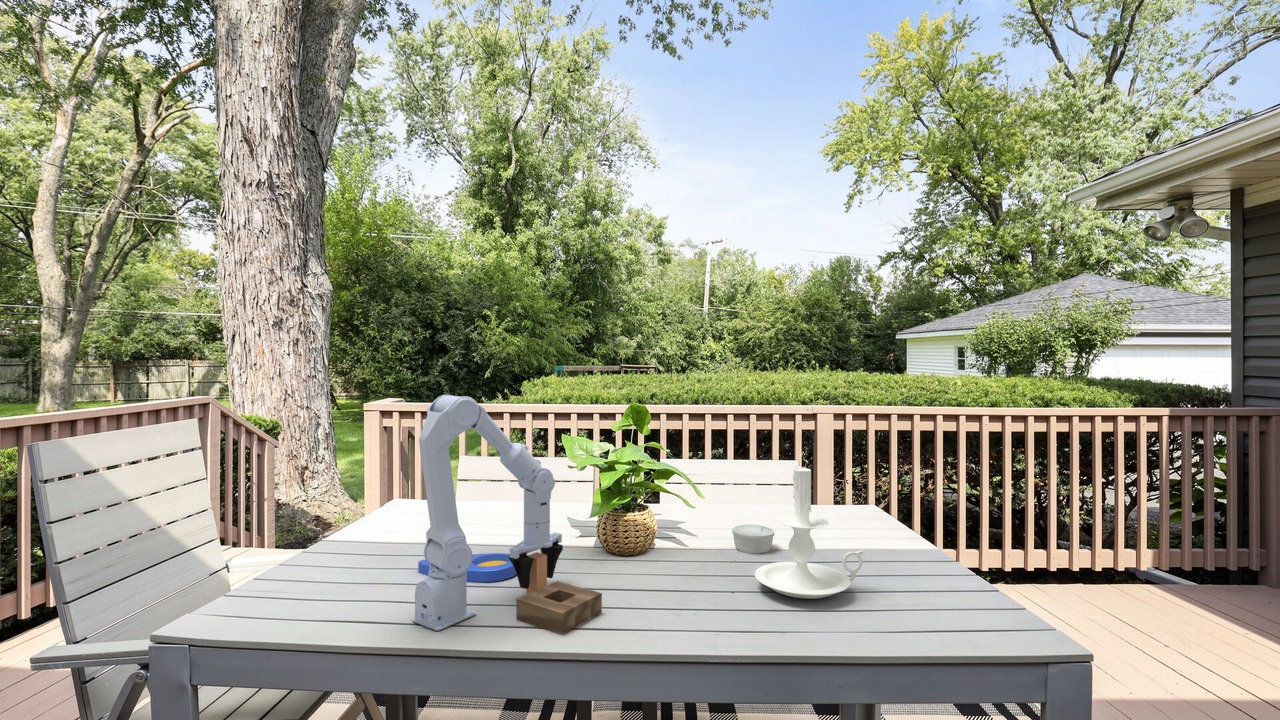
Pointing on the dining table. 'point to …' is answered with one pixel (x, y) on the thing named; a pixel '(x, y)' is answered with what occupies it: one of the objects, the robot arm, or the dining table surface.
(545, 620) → the socket block
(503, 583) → the dining table surface
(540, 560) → the peg
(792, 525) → the candlestick
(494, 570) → the location marker
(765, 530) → the ramekin
